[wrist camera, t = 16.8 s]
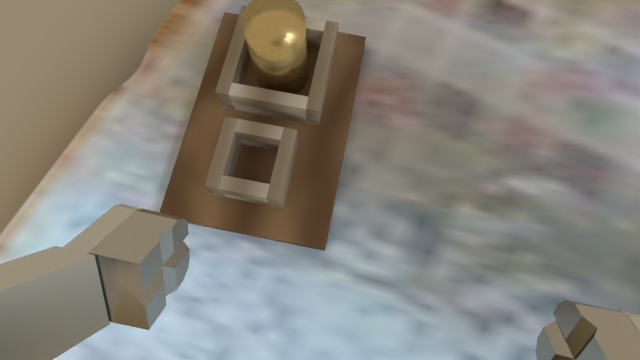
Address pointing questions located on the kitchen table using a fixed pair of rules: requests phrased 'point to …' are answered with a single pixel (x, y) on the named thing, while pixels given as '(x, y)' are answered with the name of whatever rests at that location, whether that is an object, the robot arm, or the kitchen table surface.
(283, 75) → the gold metal cylinder
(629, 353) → the robot arm
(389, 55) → the kitchen table surface
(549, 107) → the kitchen table surface
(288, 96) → the socket board
